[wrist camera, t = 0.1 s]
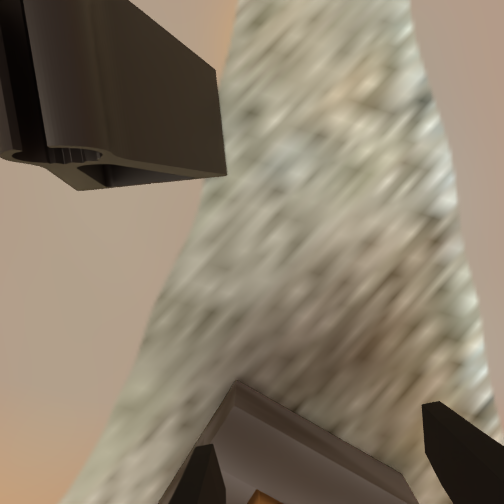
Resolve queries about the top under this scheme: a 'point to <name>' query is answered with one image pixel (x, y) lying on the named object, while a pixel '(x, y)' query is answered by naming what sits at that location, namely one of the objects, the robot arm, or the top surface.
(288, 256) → the top surface
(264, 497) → the orange block
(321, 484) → the pocket holder
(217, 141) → the phone stand
